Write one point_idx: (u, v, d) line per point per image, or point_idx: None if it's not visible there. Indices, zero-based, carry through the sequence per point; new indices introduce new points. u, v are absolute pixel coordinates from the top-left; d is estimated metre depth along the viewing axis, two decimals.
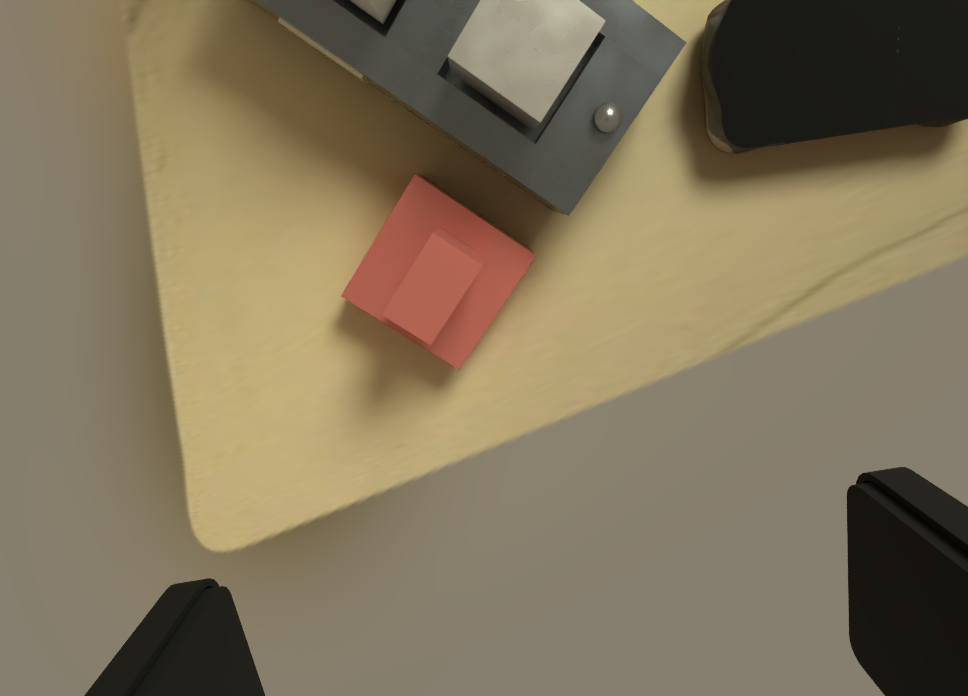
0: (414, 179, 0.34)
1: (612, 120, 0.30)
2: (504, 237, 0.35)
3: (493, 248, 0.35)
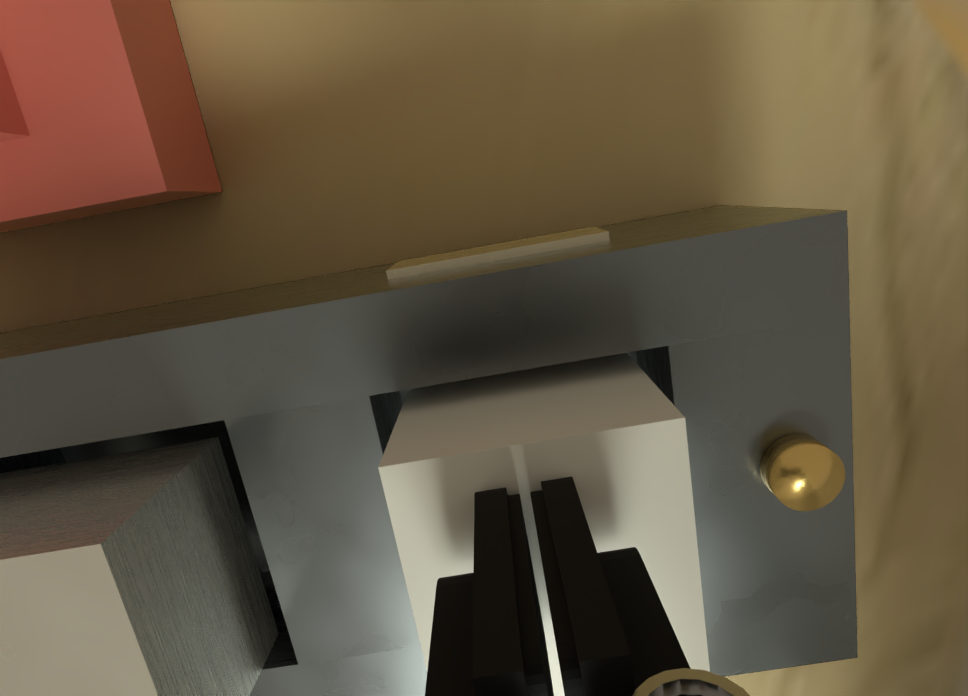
0: (157, 180, 0.14)
1: None
2: None
3: None
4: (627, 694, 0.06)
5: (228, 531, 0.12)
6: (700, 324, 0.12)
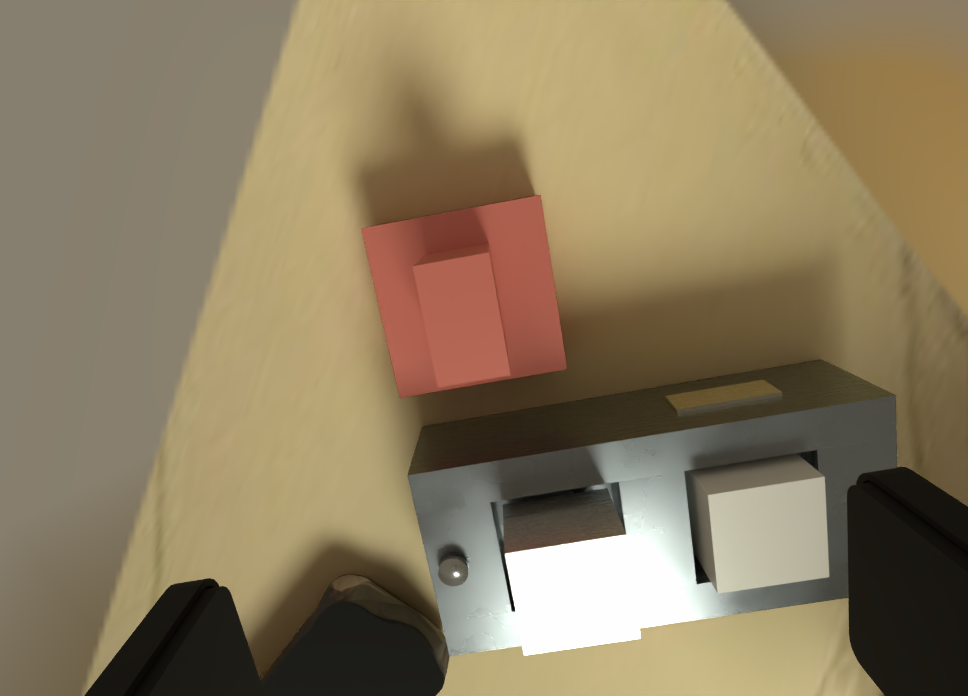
0: (563, 364, 0.29)
1: (448, 573, 0.28)
2: (441, 387, 0.29)
3: None
4: None
5: None
6: (831, 441, 0.27)
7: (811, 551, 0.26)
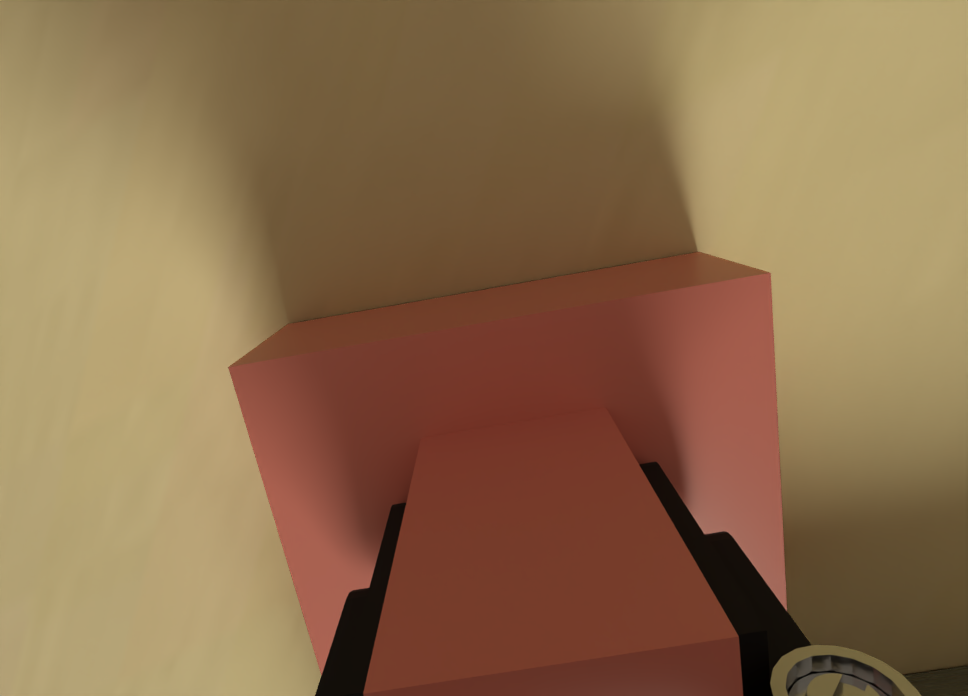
0: None
1: None
2: None
3: None
4: (761, 670, 0.06)
5: None
6: None
7: None
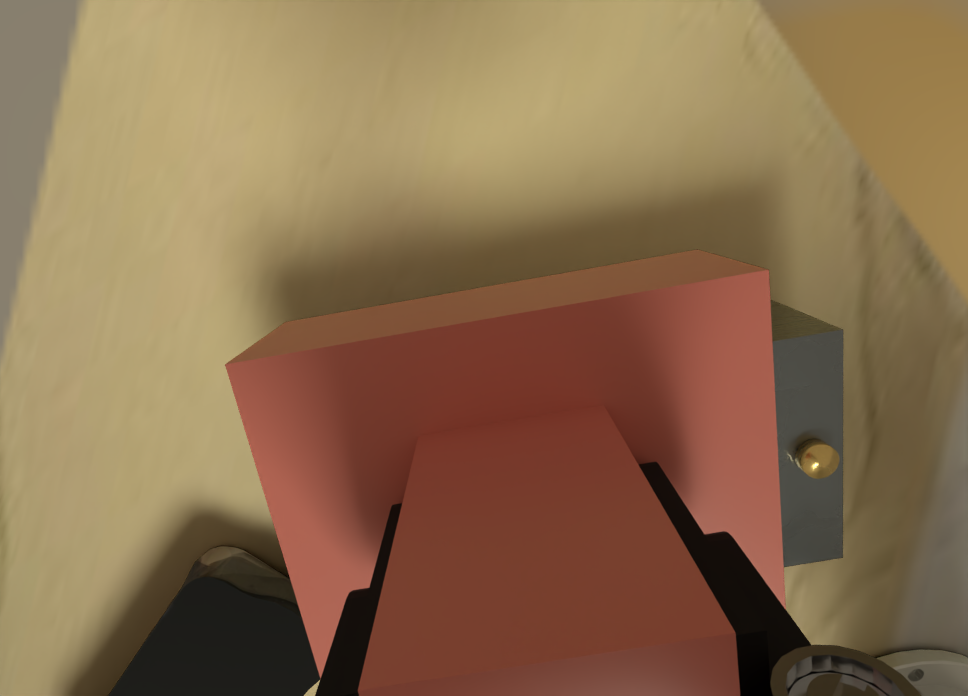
0: None
1: None
2: None
3: None
4: (761, 670, 0.06)
5: None
6: None
7: None
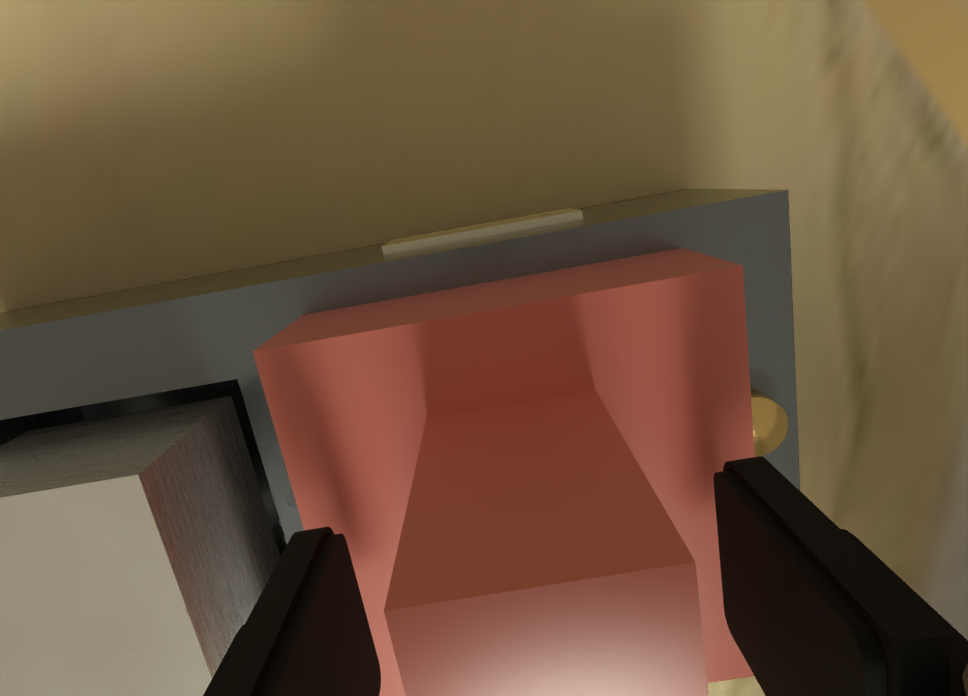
0: None
1: None
2: None
3: None
4: (941, 677, 0.05)
5: (241, 479, 0.14)
6: None
7: None
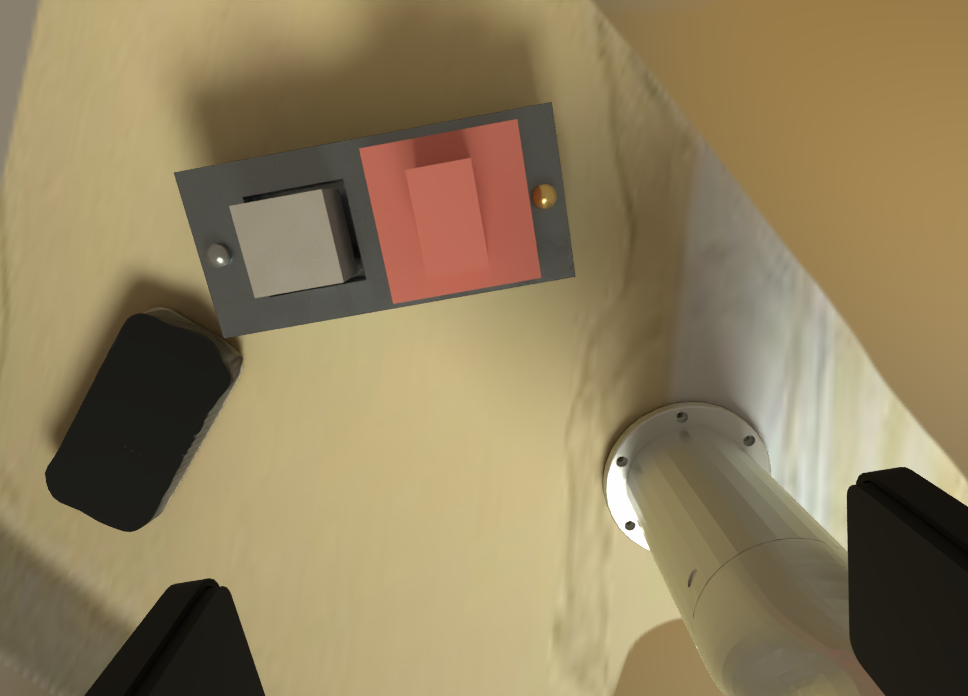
0: (538, 273, 0.33)
1: (210, 256, 0.35)
2: (430, 294, 0.33)
3: (430, 278, 0.33)
4: None
5: (343, 221, 0.35)
6: None
7: None
